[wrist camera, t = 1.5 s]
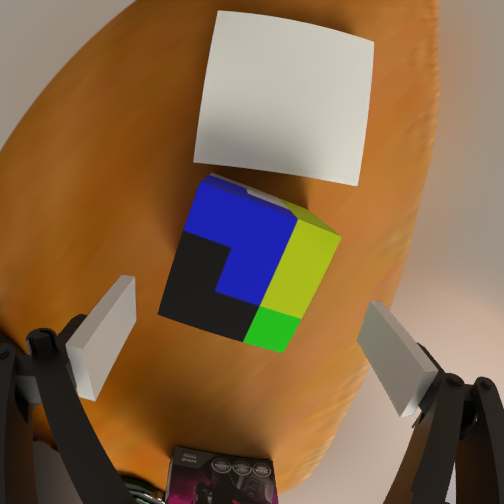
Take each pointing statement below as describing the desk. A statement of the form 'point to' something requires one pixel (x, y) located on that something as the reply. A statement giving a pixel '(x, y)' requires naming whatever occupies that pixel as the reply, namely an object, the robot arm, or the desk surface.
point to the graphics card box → (219, 479)
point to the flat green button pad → (143, 492)
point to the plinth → (285, 98)
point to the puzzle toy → (246, 264)
